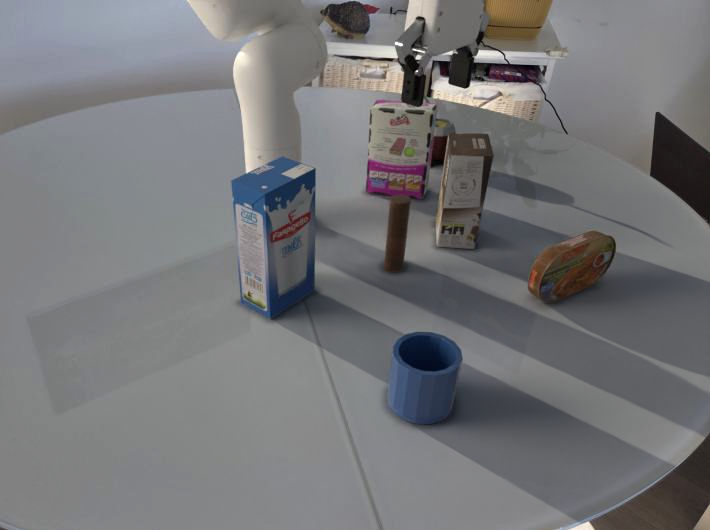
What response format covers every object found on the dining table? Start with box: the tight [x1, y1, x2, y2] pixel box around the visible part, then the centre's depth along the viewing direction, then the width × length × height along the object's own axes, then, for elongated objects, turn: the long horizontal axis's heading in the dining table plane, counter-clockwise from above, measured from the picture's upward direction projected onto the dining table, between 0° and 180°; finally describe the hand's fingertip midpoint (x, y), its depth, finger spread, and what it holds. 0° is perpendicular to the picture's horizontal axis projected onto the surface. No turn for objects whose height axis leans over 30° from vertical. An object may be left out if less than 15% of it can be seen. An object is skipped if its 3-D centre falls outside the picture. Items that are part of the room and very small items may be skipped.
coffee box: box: [435, 132, 495, 250], centre depth 104 cm, size 9×6×16 cm
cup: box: [386, 331, 464, 425], centre depth 76 cm, size 8×8×8 cm
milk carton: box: [230, 157, 317, 320], centre depth 91 cm, size 10×6×20 cm, turn 134°
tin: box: [527, 230, 617, 304], centre depth 92 cm, size 15×3×8 cm, turn 118°
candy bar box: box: [365, 99, 438, 200], centre depth 117 cm, size 11×5×16 cm, turn 68°
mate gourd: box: [423, 94, 457, 168], centre depth 127 cm, size 8×8×15 cm
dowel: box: [383, 194, 412, 273], centre depth 98 cm, size 3×3×12 cm
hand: (435, 94), depth 86 cm, fingers open, 9 cm apart
